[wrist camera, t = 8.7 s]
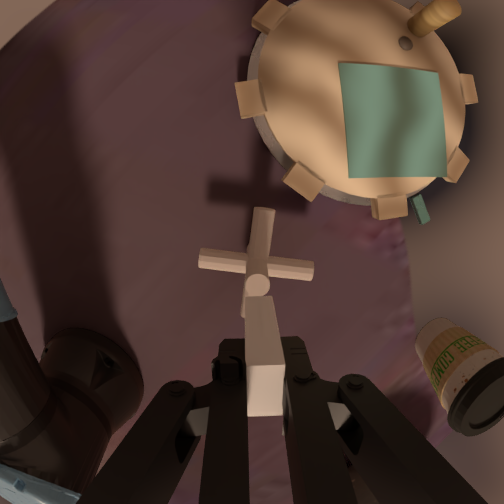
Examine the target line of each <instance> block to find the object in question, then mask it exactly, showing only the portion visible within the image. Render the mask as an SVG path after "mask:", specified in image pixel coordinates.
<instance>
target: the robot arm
mask: <svg viewBox="0 0 504 504" xmlns="http://www.w3.org/2000/svg"><path fill="white" fill-rule="evenodd" d="M17 315H18V313H17V311H16V309H15V308H14V307H13V306H12V304H11V302H10V299H9V297H8V295H7V293H6V290H5V288H4V286H3V283H2V281H1V279H0V495H1V496H2V497H3V498H5V499H6V500H8V501H9V502H11V503H13V504H168V502H169V500H170V498H171V496H172V494H173V492H174V491H175V489H176V487H177V485H178V483H179V481H180V479H181V477H182V475H183V473H184V471H185V469H186V467H187V465H188V463H189V461H190V459H191V457H192V455H193V453H194V451H195V449H196V447H197V445H198V443H199V441H200V438H201V435H204V434H206V440H205V449H204V457H203V466H202V476H201V485H200V494H199V504H250V497H249V457H248V416H275V415H282V414H284V418H283V431H282V435H285V441H286V449H287V456H288V464H289V471H290V479H291V486H292V494H293V502H294V504H358V502H357V498H356V495H355V492H354V488H353V485H352V481H351V478H350V475H349V471H348V468H347V465H346V461H345V458H344V455H343V451H344V453H345V454H346V456H347V457H348V459H349V460H350V461H351V463H352V464H353V466H354V467H355V469H356V470H357V472H358V473H359V475H360V476H361V478H362V479H363V480H364V482H365V483H366V485H367V486H368V488H369V489H370V491H371V492H372V493H373V495H374V496H375V498H376V499H377V501H378V502H379V503H380V504H488V503H487V502H486V501H485V500H484V499H483V498H482V497H481V496H480V495H479V494H478V493H477V492H476V491H475V490H474V489H473V487H472V486H471V485H470V484H469V483H468V482H467V481H466V480H465V479H464V478H463V477H462V476H461V475H460V474H459V473H458V472H457V471H456V470H455V469H454V468H453V467H452V466H451V465H450V464H449V462H447V460H446V459H445V458H444V457H443V456H442V455H441V454H440V453H439V452H438V451H437V450H436V449H435V448H434V447H433V446H432V445H431V444H430V443H429V442H428V441H427V440H426V438H425V437H424V436H423V435H422V434H421V433H420V432H419V431H418V430H417V429H416V428H415V427H414V426H413V425H412V424H411V423H410V422H409V421H408V420H407V419H406V418H405V416H404V415H403V414H402V413H401V412H400V411H399V410H398V409H397V408H396V407H395V406H394V405H393V404H392V403H391V402H390V401H389V400H388V399H387V398H386V397H385V396H384V394H383V393H382V392H381V391H380V390H379V389H378V388H377V387H376V386H375V385H374V384H373V383H372V382H371V381H370V380H369V379H368V378H366V377H365V376H362V375H359V374H348V375H345V376H343V377H342V378H341V379H340V380H339V383H337V382H329V381H325V380H322V379H320V378H319V376H318V374H317V373H316V372H315V371H313V369H312V366H311V363H310V359H309V356H308V354H307V350H306V347H305V343H304V341H303V340H302V339H300V338H299V337H298V336H292V337H280V334H279V329H278V324H277V319H276V314H275V308H274V303H273V298H272V296H245V339H224V340H223V341H222V342H221V343H220V344H219V352H218V357H216V358H215V359H213V361H212V363H211V367H212V378H213V381H212V382H210V383H209V384H207V385H204V386H201V387H196V388H193V386H192V385H191V384H190V383H189V382H186V381H180V380H176V381H170V382H168V383H166V384H165V385H163V386H162V387H161V389H160V390H159V391H158V393H157V394H156V395H155V397H154V398H153V399H152V401H151V402H150V404H149V405H148V406H147V408H146V409H145V410H144V412H143V413H142V414H141V416H140V417H139V419H138V420H137V421H136V423H135V424H134V425H133V427H132V428H131V429H130V431H129V432H128V433H127V435H126V436H125V438H124V439H123V440H122V442H121V443H120V444H119V446H118V447H117V448H116V450H115V451H114V452H113V454H112V455H111V456H110V458H109V459H108V461H107V462H106V463H105V465H104V466H103V467H102V469H101V470H100V471H99V473H98V474H97V475H96V473H97V470H98V468H99V465H100V463H101V460H102V458H103V455H104V453H105V450H106V448H107V445H108V443H109V440H110V438H111V436H112V435H113V434H114V433H115V432H116V431H117V430H118V429H119V428H120V427H121V426H123V425H124V424H125V423H126V422H127V421H128V420H129V419H131V418H132V417H133V416H134V415H135V413H136V412H137V410H138V408H139V405H140V403H141V401H142V398H143V393H144V387H143V381H142V378H141V375H140V373H139V371H138V369H137V367H136V365H135V364H134V362H133V361H132V360H131V358H130V357H129V356H128V355H127V354H126V353H125V352H124V351H123V350H122V349H121V348H120V347H119V346H118V345H116V344H115V343H114V342H112V341H111V340H109V339H108V338H106V337H104V336H102V335H100V334H98V333H96V332H93V331H90V330H86V329H81V328H70V329H66V330H63V331H61V332H59V333H57V334H56V335H55V336H54V337H53V338H52V339H51V340H50V341H49V342H48V344H47V345H46V346H45V348H44V350H43V353H42V356H41V360H40V362H39V363H38V361H37V359H36V357H35V355H34V353H33V351H32V349H31V347H30V345H29V343H28V341H27V339H26V337H25V335H24V332H23V330H22V328H21V326H20V324H19V321H18V319H17ZM342 450H343V451H342ZM95 475H96V477H95Z"/></svg>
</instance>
